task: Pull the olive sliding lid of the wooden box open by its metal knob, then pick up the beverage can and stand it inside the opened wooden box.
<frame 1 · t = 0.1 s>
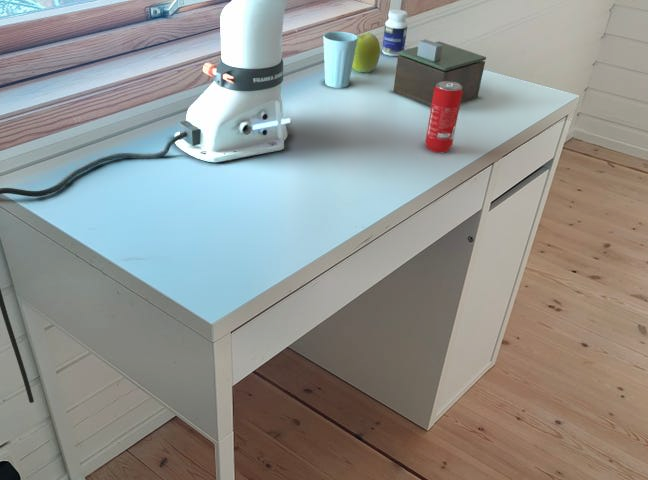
cup: (336, 84, 159), on the table
beverage can: (437, 149, 133), on the table
pill bottle: (392, 54, 178), on the table
slide lid: (443, 48, 149), point 10 cm above the table, slide at 0.0 cm
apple: (361, 70, 167), on the table
wooden box: (435, 94, 156), on the table
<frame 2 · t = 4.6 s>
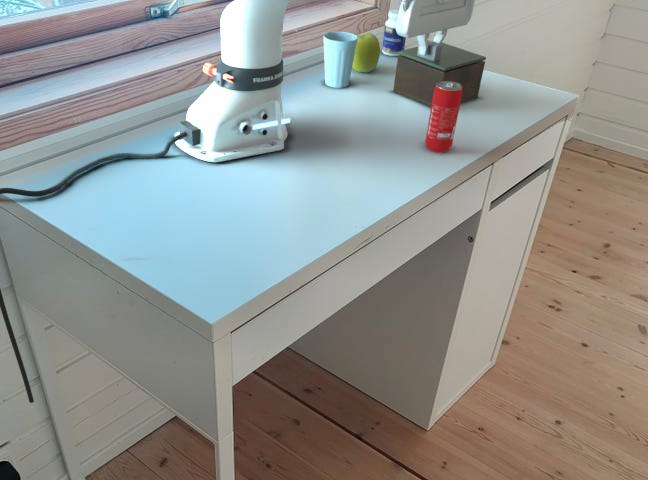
hand: (429, 52, 147), 10 cm above the table, tool pointing down, fingers closed on slide lid, 2 cm apart
slide lid: (443, 48, 149), point 10 cm above the table, slide at 0.1 cm, touching gripper
everything else where it was.
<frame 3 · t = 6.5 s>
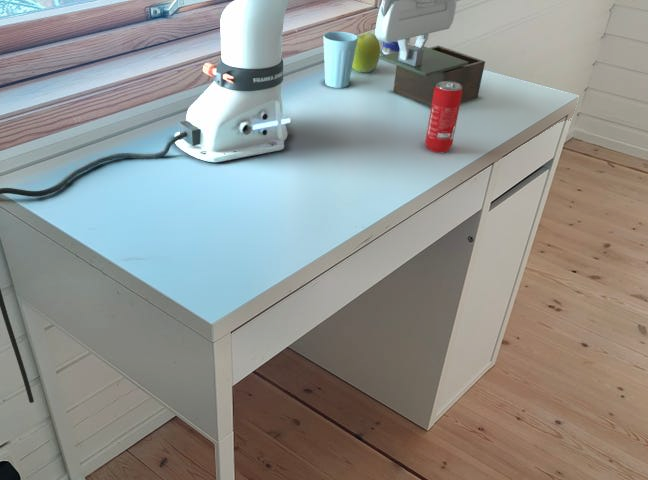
hand: (410, 57, 144), 10 cm above the table, tool pointing down, fingers closed on slide lid, 2 cm apart
slide lid: (424, 52, 146), point 10 cm above the table, slide at 6.0 cm, touching gripper
everything else where it was.
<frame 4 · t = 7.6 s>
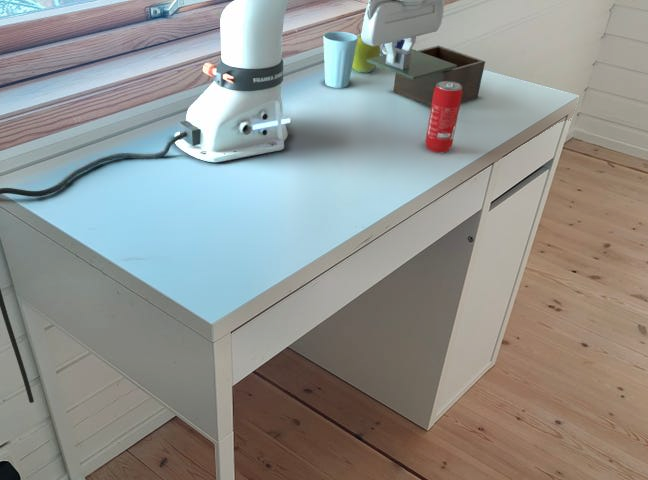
hand: (397, 60, 142), 10 cm above the table, tool pointing down, fingers closed on slide lid, 2 cm apart
slide lid: (412, 56, 144), point 10 cm above the table, slide at 9.8 cm, touching gripper
everything else where it was.
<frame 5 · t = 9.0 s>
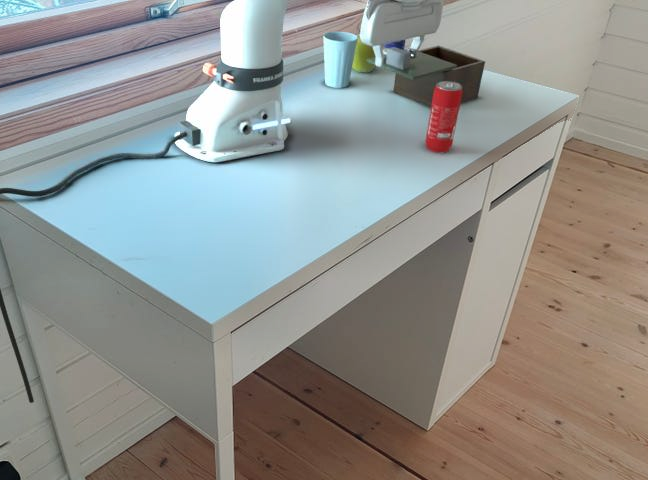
hand: (396, 61, 142), 10 cm above the table, tool pointing down, fingers open, 8 cm apart
slide lid: (412, 56, 144), point 10 cm above the table, slide at 9.8 cm
everything else where it was.
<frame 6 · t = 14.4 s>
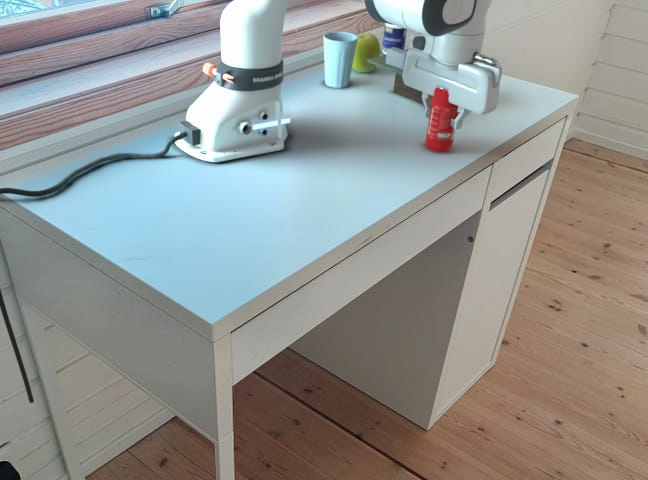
hand: (442, 122, 130), 5 cm above the table, tool pointing down, fingers closed on beverage can, 5 cm apart
beverage can: (437, 149, 133), on the table, touching gripper
everything else where it was.
when the fingers open (6 cm above the table, at t = 23.6 s): beverage can stays where it is, resting on wooden box.
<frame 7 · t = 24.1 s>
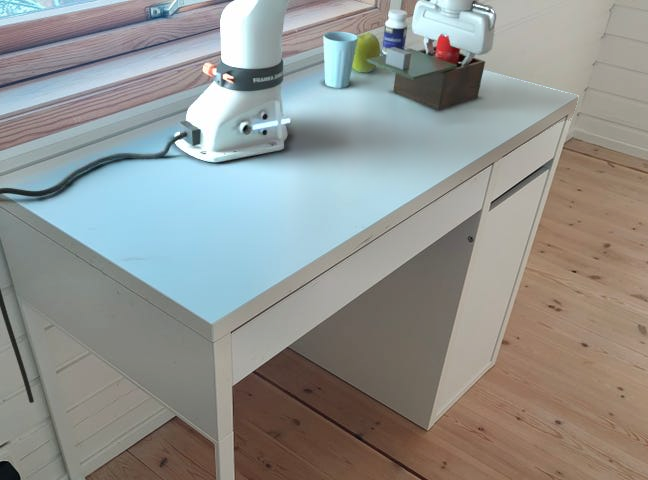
hand: (445, 65, 152), 6 cm above the table, tool pointing down, fingers open, 8 cm apart
beverage can: (440, 90, 156), point 1 cm above the table, touching wooden box
everything else where it was.
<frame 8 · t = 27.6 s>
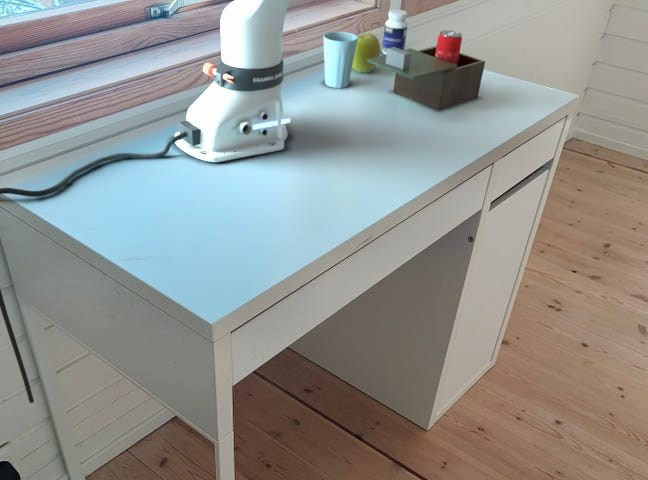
nothing on the table moved.
at the end: slide lid slide at 9.8 cm; beverage can inside the target area on the wooden box (1.9 cm from its centre), point 0.6 cm above the wooden box's base; beverage can tilted 0° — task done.
